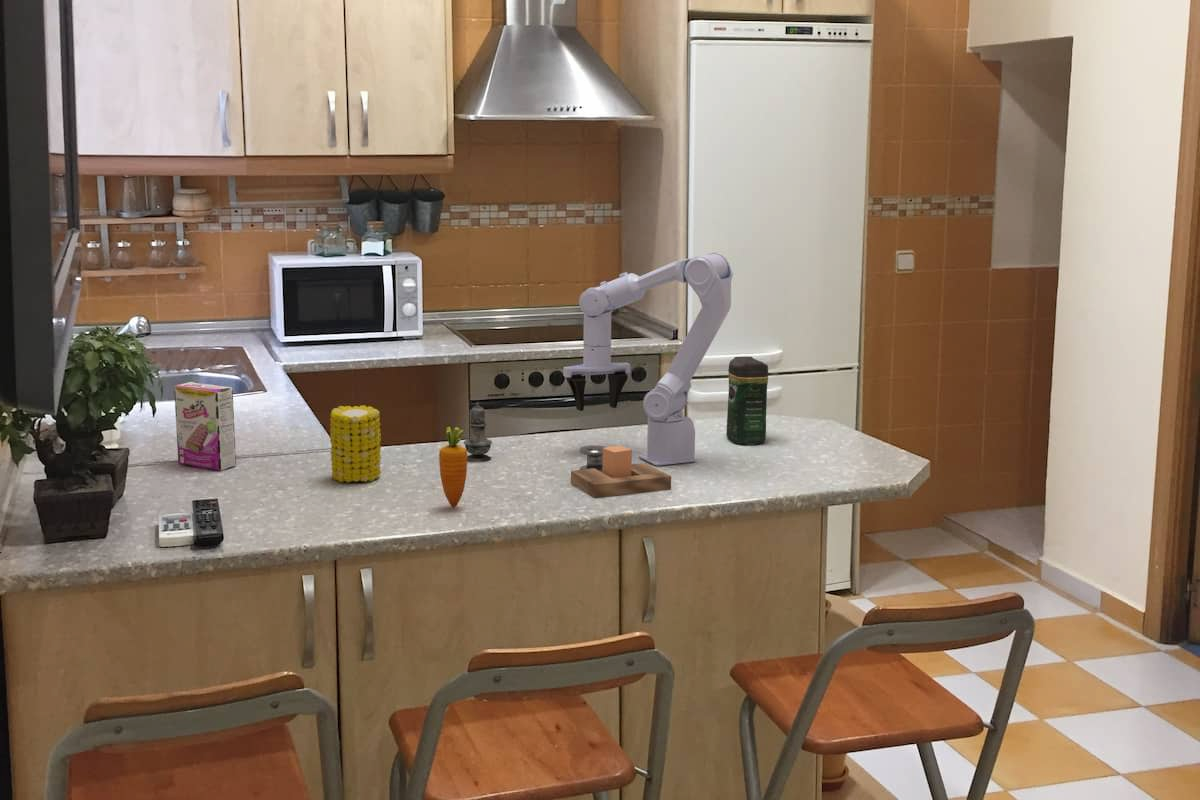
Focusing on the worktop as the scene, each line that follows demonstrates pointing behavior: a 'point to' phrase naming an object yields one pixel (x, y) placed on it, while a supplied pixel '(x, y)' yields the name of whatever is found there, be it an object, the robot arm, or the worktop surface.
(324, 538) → the worktop surface
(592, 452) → the doorknob
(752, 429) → the coffee jar
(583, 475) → the notched board
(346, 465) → the food
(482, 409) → the salt shaker
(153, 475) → the worktop surface
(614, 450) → the brown block
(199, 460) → the candy bar box
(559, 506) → the worktop surface
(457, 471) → the carrot
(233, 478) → the worktop surface
